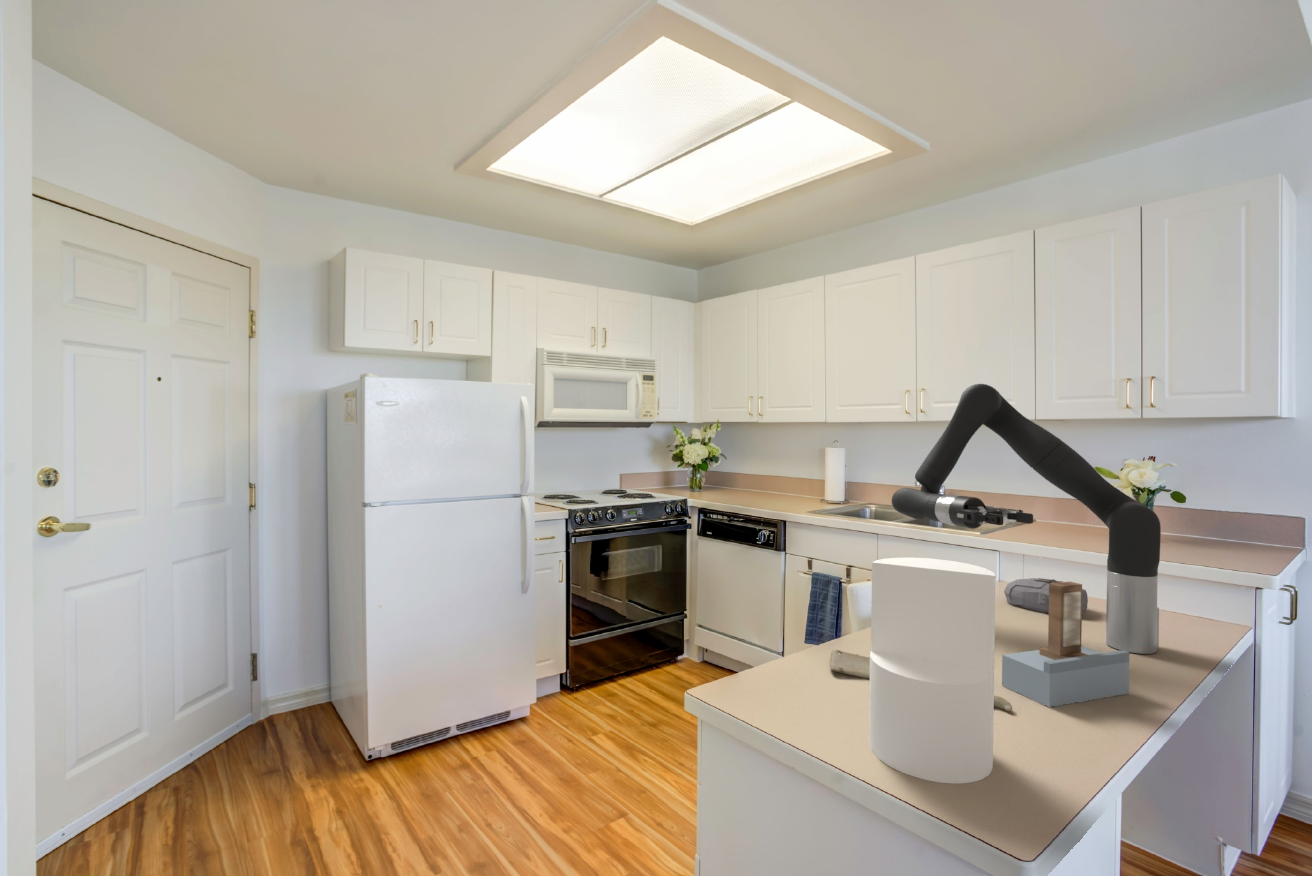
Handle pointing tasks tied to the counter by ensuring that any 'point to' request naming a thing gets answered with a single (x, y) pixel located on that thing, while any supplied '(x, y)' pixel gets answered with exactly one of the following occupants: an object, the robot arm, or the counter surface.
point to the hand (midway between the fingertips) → (1017, 519)
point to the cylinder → (932, 668)
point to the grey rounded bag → (1034, 594)
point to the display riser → (1067, 676)
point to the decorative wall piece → (861, 668)
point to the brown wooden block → (1064, 621)
